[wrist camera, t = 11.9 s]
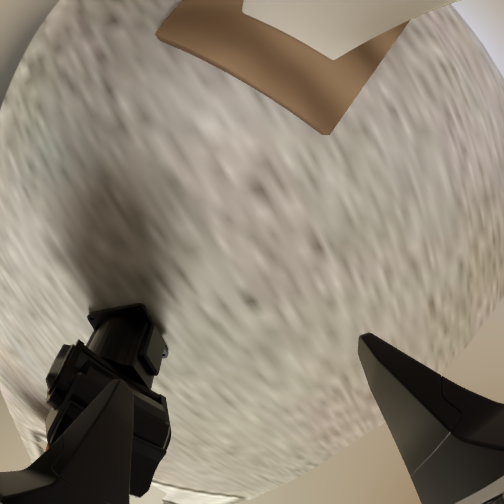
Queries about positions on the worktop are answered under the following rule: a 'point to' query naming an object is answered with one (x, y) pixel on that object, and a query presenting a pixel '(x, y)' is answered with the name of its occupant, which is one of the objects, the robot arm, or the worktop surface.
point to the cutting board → (275, 59)
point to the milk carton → (337, 19)
